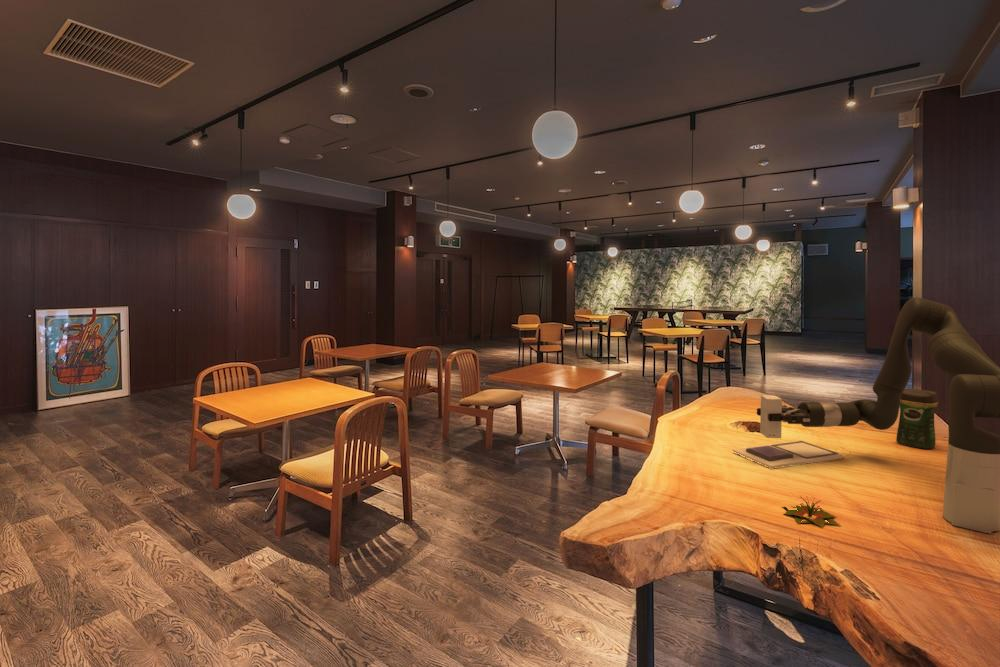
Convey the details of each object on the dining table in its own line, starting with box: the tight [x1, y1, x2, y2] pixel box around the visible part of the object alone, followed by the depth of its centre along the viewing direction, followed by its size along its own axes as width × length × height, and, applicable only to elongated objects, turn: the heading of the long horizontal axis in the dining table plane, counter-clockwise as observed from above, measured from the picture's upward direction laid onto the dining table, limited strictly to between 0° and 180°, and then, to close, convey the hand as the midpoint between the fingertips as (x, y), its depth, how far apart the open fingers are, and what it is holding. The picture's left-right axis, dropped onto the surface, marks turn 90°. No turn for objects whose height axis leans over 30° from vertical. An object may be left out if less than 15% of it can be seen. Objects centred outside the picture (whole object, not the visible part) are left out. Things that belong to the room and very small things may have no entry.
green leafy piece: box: [784, 495, 842, 529], centre depth 112 cm, size 12×12×5 cm
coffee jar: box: [895, 387, 939, 449], centre depth 160 cm, size 10×8×19 cm
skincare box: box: [759, 394, 783, 439], centre depth 149 cm, size 6×4×12 cm
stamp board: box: [731, 440, 844, 468], centre depth 152 cm, size 28×15×2 cm, turn 107°
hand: (762, 414), depth 149 cm, fingers closed on skincare box, 6 cm apart
